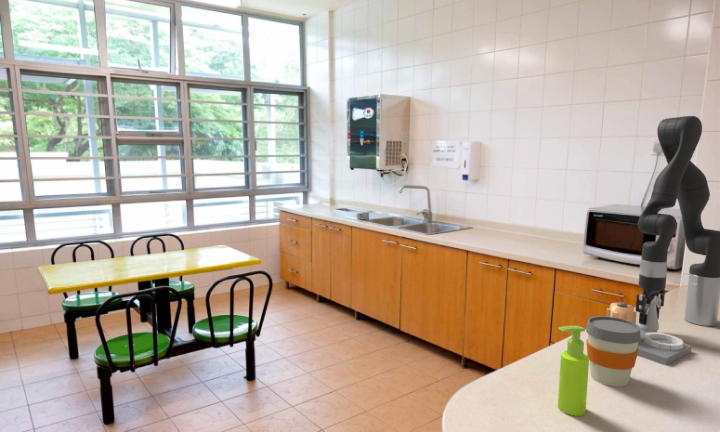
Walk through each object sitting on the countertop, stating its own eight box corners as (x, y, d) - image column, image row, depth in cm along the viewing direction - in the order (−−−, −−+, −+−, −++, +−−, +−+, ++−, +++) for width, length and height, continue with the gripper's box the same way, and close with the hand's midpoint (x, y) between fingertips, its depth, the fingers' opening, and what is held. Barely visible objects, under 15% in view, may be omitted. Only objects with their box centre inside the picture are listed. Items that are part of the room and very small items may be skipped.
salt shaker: (652, 330, 154) (655, 293, 153) (661, 336, 149) (665, 298, 147) (634, 329, 155) (637, 292, 153) (642, 336, 149) (646, 297, 148)
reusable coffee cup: (608, 393, 113) (612, 335, 111) (572, 370, 125) (575, 318, 123) (648, 386, 117) (653, 330, 115) (609, 365, 129) (613, 314, 127)
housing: (619, 329, 155) (622, 293, 153) (690, 352, 137) (694, 311, 135) (593, 340, 146) (596, 301, 144) (665, 365, 128) (669, 321, 127)
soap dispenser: (548, 403, 109) (553, 322, 106) (576, 401, 109) (581, 321, 107) (561, 416, 103) (566, 332, 100) (590, 415, 104) (596, 331, 101)
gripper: (651, 268, 156) (647, 314, 158) (629, 274, 148) (625, 322, 151) (675, 273, 150) (671, 321, 152) (654, 279, 142) (650, 329, 144)
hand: (648, 321), depth 151 cm, fingers open, 7 cm apart
